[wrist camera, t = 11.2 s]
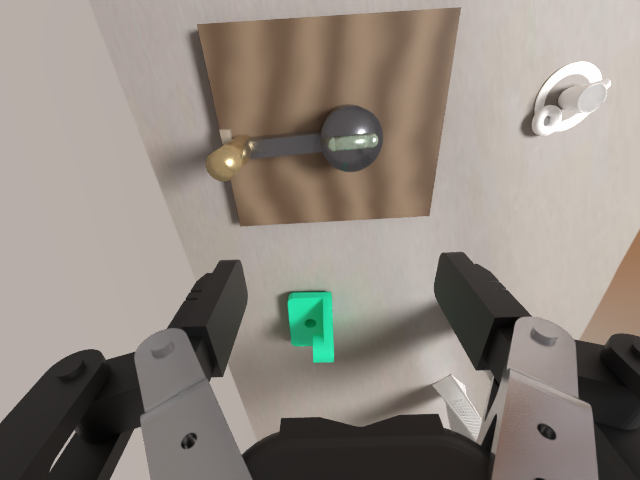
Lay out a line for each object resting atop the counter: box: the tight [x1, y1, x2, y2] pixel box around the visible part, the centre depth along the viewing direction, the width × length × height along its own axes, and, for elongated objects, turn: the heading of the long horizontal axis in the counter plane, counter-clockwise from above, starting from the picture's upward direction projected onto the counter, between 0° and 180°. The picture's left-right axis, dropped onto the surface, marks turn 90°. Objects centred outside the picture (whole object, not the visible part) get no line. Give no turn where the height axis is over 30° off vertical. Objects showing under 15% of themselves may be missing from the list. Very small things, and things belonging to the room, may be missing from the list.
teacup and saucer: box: [532, 61, 611, 136], centre depth 34 cm, size 9×8×4 cm
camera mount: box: [288, 292, 334, 363], centre depth 48 cm, size 12×8×10 cm, turn 1°
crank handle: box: [206, 104, 383, 181], centre depth 30 cm, size 18×7×11 cm, turn 95°
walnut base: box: [197, 8, 461, 226], centre depth 36 cm, size 28×24×3 cm
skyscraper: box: [432, 374, 482, 442], centre depth 52 cm, size 8×7×28 cm
